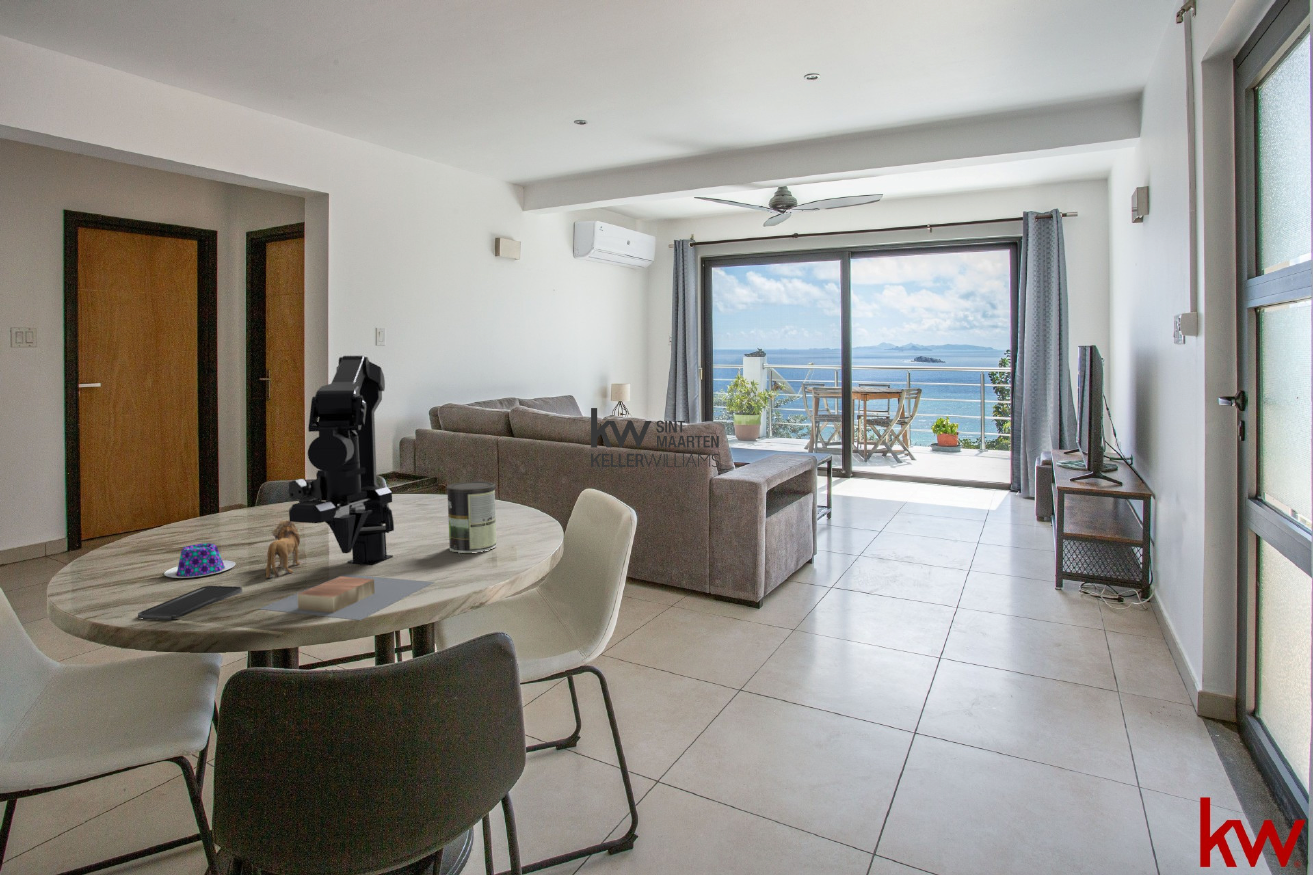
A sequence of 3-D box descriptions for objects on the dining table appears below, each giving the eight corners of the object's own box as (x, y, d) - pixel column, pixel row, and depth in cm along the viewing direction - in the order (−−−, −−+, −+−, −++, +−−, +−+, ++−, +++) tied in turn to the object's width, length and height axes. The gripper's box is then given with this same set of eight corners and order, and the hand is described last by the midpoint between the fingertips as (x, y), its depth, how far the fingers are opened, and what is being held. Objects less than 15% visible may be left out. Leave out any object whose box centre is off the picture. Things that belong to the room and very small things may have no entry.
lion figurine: (274, 562, 146) (271, 519, 145) (303, 559, 148) (300, 517, 147) (263, 582, 132) (259, 535, 131) (294, 578, 134) (291, 532, 133)
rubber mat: (344, 576, 135) (344, 574, 135) (434, 584, 129) (434, 582, 129) (258, 611, 116) (258, 608, 116) (360, 622, 110) (360, 619, 110)
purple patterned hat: (204, 582, 133) (202, 555, 133) (148, 580, 135) (146, 553, 134) (249, 564, 145) (247, 539, 145) (197, 562, 147) (195, 538, 146)
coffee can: (445, 555, 150) (442, 489, 148) (453, 543, 160) (451, 481, 158) (494, 553, 151) (492, 488, 149) (499, 541, 161) (497, 480, 159)
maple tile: (340, 576, 125) (297, 593, 115) (373, 579, 123) (332, 597, 113) (341, 590, 125) (298, 608, 116) (374, 593, 123) (333, 612, 114)
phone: (134, 614, 113) (206, 585, 128) (134, 621, 113) (206, 591, 128) (177, 616, 112) (245, 586, 127) (178, 623, 112) (245, 592, 127)
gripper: (341, 455, 131) (345, 537, 132) (258, 469, 113) (265, 564, 115) (391, 456, 128) (396, 540, 129) (315, 471, 110) (321, 569, 111)
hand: (346, 552), depth 121 cm, fingers closed
